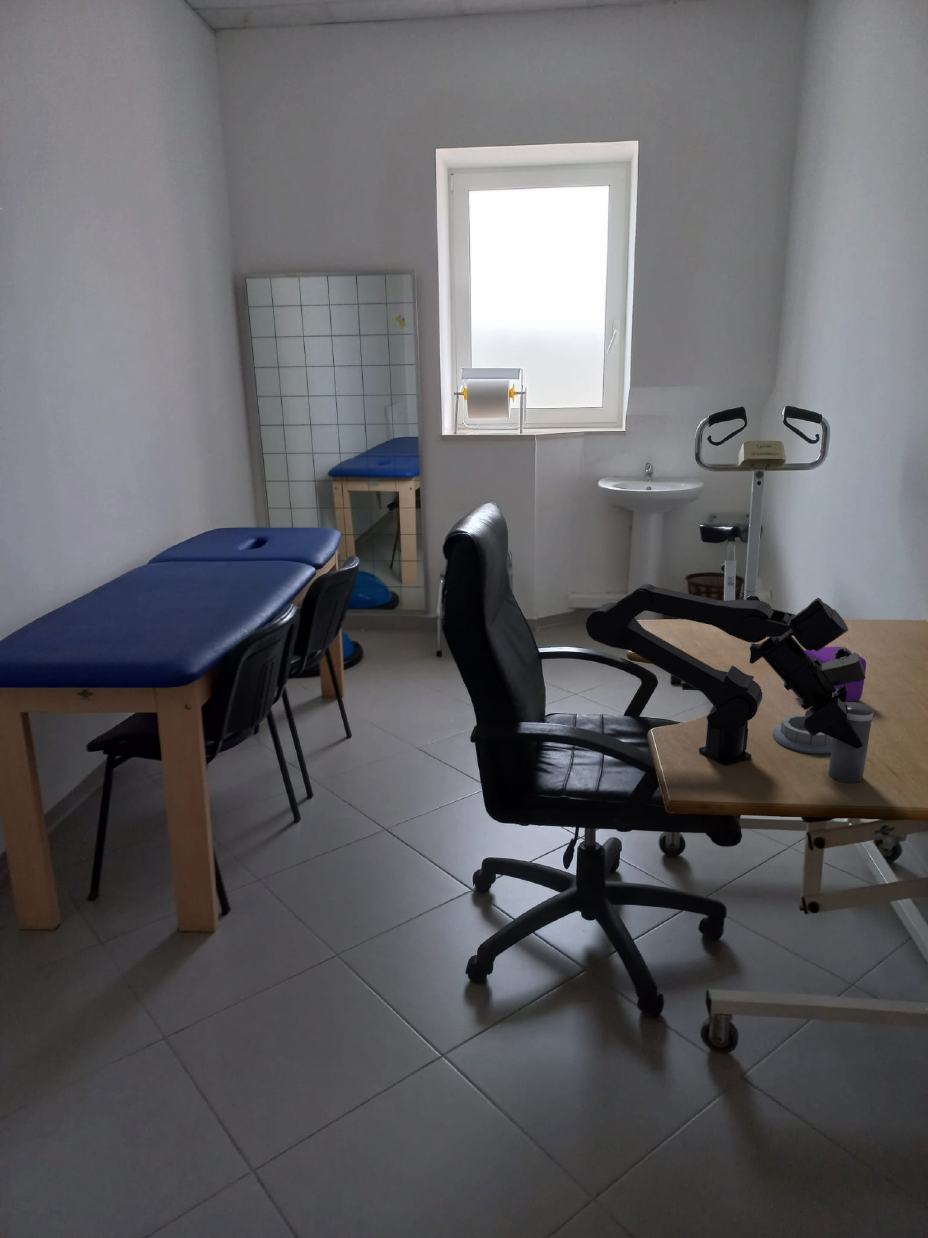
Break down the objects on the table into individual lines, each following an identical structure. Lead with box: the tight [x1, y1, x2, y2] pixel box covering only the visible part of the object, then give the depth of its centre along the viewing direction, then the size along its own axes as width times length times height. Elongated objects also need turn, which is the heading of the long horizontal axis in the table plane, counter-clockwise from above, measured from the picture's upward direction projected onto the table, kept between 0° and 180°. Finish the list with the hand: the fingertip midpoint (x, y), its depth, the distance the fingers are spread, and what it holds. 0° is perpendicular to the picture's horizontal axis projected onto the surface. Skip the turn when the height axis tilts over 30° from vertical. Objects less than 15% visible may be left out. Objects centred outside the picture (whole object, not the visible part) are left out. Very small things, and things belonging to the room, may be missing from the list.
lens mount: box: [772, 714, 833, 755], centre depth 153 cm, size 12×12×3 cm
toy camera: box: [804, 646, 867, 702], centre depth 173 cm, size 11×14×10 cm
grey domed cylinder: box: [827, 701, 874, 784], centre depth 138 cm, size 5×5×12 cm
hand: (860, 740), depth 137 cm, fingers closed on grey domed cylinder, 5 cm apart
